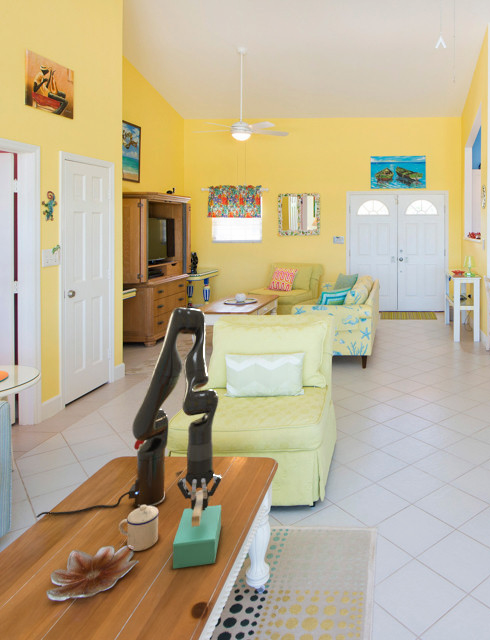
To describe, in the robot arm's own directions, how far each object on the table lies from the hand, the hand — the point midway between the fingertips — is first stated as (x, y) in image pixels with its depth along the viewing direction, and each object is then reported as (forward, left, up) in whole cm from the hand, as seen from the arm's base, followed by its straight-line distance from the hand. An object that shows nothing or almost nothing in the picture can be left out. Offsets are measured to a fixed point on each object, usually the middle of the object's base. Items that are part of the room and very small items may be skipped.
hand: (199, 509), depth 146 cm
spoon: (0, 0, 0) cm, 0 cm away
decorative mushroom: (-29, +58, -12) cm, 66 cm away
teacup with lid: (-19, +6, -12) cm, 23 cm away
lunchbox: (0, 0, -12) cm, 12 cm away
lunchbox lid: (0, 0, -5) cm, 5 cm away
